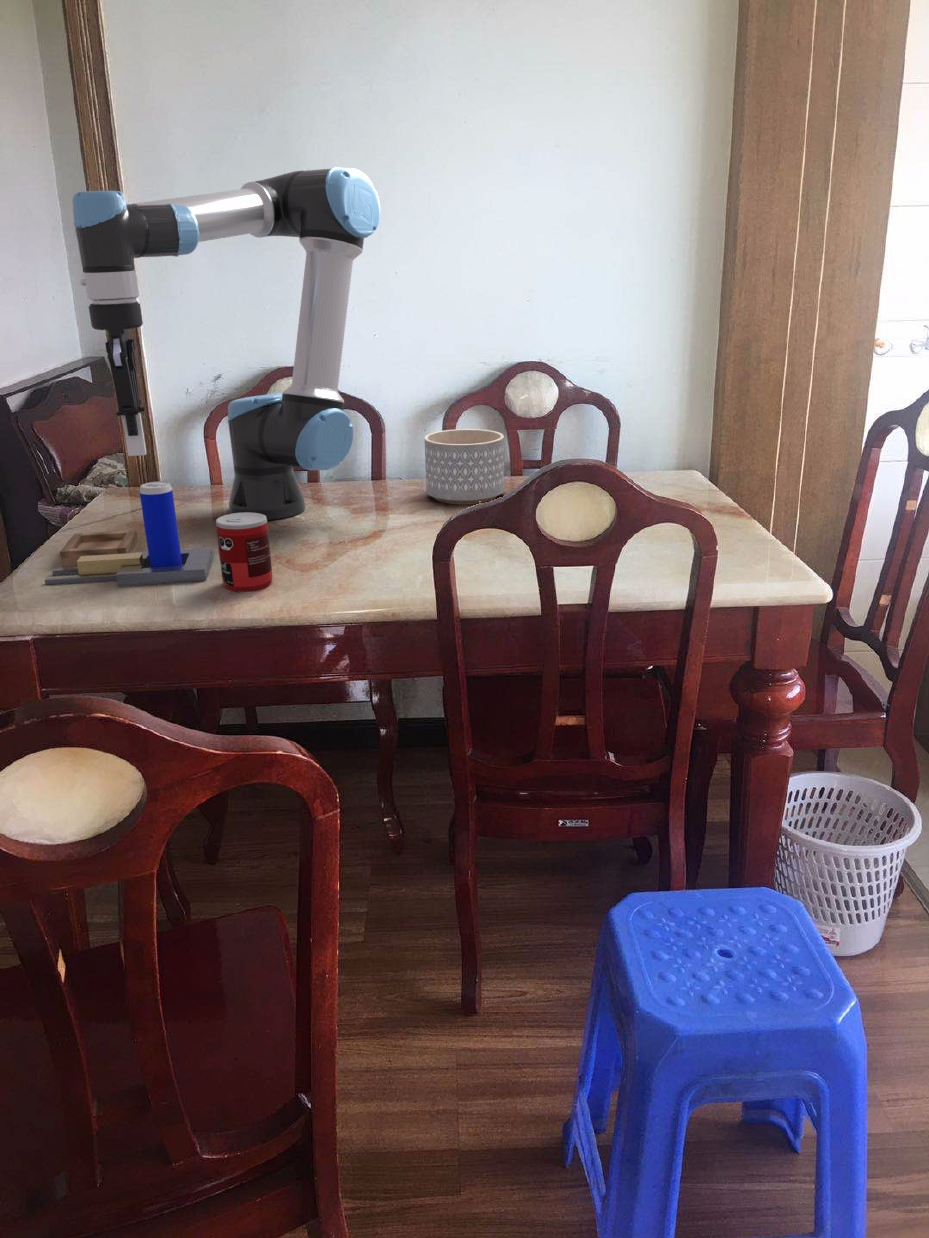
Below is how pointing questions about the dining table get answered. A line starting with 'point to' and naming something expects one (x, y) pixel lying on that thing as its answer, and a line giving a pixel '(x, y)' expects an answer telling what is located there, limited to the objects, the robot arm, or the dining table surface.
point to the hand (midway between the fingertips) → (137, 454)
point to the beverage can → (160, 524)
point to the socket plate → (148, 571)
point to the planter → (464, 465)
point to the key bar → (107, 563)
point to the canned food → (244, 551)
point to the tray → (98, 545)
